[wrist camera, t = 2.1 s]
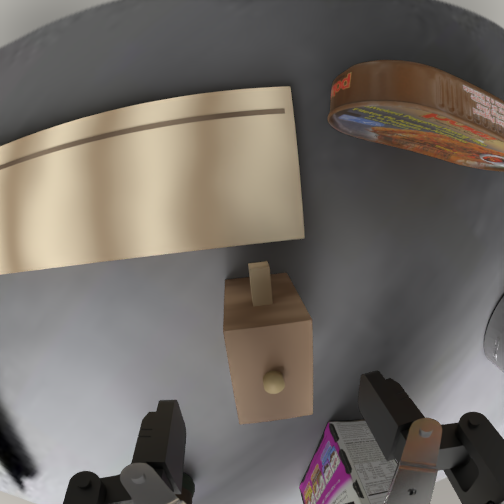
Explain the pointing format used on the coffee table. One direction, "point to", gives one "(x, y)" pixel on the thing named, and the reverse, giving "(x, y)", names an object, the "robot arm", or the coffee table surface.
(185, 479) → the stick grenade
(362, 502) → the candy bar box
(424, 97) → the tin
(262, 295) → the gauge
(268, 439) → the coffee table surface
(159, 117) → the board
